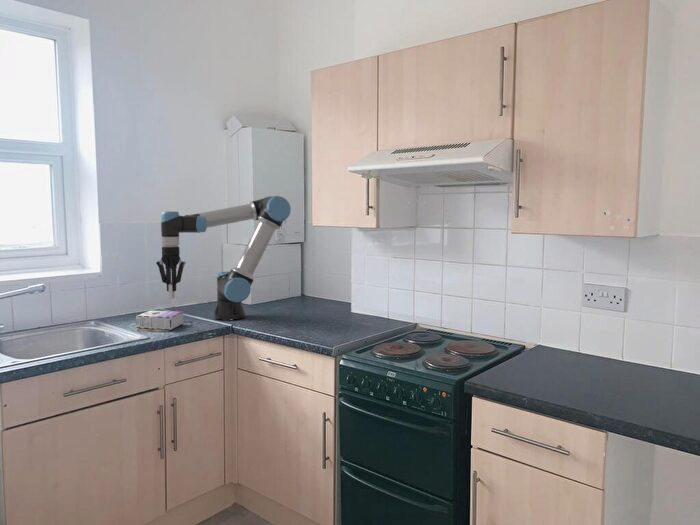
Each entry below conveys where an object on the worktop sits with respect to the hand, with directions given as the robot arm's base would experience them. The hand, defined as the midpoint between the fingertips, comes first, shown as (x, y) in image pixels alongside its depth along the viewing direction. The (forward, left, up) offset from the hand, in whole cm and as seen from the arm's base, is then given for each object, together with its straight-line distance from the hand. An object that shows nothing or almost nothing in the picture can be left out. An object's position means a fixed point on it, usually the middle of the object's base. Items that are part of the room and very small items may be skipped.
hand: (171, 298), depth 250 cm
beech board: (+6, 0, -13) cm, 15 cm away
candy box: (-3, 0, -10) cm, 10 cm away
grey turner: (+4, -12, -14) cm, 19 cm away
